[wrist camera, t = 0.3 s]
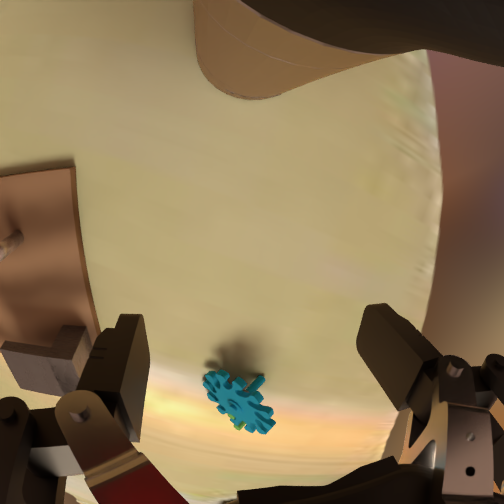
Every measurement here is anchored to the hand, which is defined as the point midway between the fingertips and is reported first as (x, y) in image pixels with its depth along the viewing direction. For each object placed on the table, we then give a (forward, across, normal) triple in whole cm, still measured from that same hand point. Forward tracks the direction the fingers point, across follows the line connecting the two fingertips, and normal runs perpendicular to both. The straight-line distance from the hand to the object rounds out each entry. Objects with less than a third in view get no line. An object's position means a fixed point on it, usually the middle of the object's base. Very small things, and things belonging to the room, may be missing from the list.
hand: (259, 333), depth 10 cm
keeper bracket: (+16, +19, +14) cm, 29 cm away
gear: (+18, -2, +21) cm, 28 cm away
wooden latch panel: (+17, +26, +6) cm, 32 cm away
